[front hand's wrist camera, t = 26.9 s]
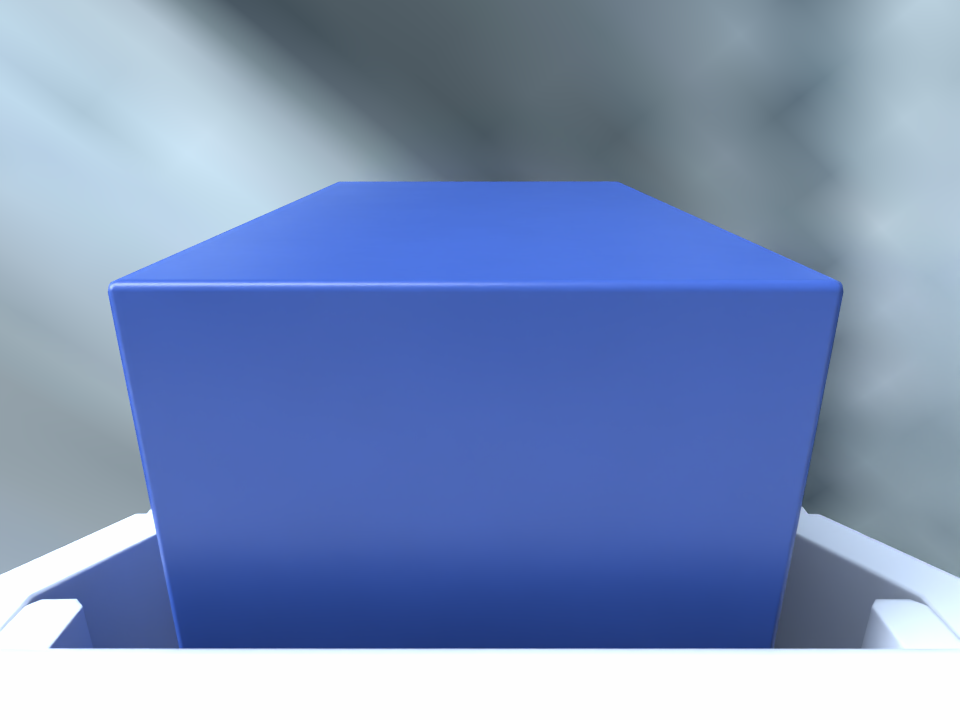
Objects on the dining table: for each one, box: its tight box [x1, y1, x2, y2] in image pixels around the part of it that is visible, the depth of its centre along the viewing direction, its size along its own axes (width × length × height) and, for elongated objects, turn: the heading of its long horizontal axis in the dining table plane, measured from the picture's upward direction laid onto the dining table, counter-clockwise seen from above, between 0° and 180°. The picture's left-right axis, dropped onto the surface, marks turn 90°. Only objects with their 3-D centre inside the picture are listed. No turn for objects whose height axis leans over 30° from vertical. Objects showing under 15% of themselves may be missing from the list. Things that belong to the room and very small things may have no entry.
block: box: [108, 182, 843, 649], centre depth 10 cm, size 5×8×8 cm, turn 0°
